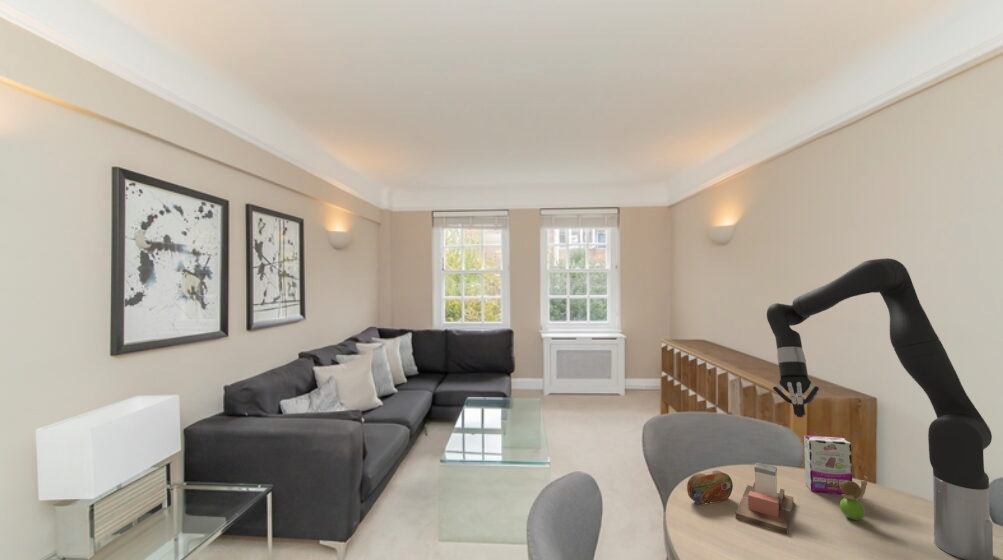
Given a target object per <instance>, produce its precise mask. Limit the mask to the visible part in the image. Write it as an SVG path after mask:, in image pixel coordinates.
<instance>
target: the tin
mask: <svg viewBox="0 0 1003 560" xmlns="http://www.w3.org/2000/svg"><path fill="white" fill-rule="evenodd" d="M733 486H734V485H733V480H732V478H731V477H730V475H729V474H727V473H725V472H723V471H721V470H711V471H706V472H701V473H696V474H693V475H692V476H691V477H690V478H689V479H688V481H687V487H686V492H687V494H688V497H689V498H690V499H691V500H692V502H695V503H696V504H697V505H700V506H703V505H702V504H705V503H710V502H715V503H718V502H719V501H720V502H724V501H726V500H727V499H728V498H730V496H731V495H732V491H733ZM710 504H711V503H710Z"/></svg>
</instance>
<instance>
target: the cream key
mask: <svg viewBox="0 0 1003 560" xmlns="http://www.w3.org/2000/svg"><path fill="white" fill-rule="evenodd" d="M777 468H778V467H777V466H773V465H771V464H770V465H769V464H765V463H760V462H756V463H755V465H754V482H755V492H756V493H760V494H763V495H767V496H771V497H775V498H777V493H778V482H777V481H778V479H777V475H778V474H777V472H778V471H777V470H778V469H777Z"/></svg>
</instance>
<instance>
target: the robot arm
mask: <svg viewBox="0 0 1003 560" xmlns="http://www.w3.org/2000/svg"><path fill="white" fill-rule="evenodd" d="M872 293H873V294H874V293H875V294H876V293H879V294H880V295H881V298H882V299H883V302H884V303H885V305H886V308H887V310H888V314H889V339H890V343H891V346H892V348H893V351H894V352H895V354H896V356H897V358H898V361H899V362H900V364H901V366H902V368H903V369H904V370H905V371H906V372H907V374H909V376H910V377H911V378H912V379H913V380H914V381H915V382H916V383H917V385H919V387H920V388H921V389H922V390H923V391H924V393H925V395H926V396H927V397H928V399H929V401H930V403H931V405H932V408H933V410H934V413H935V416H936V418H935V419H934V420H933V421H932V422H931V423H930V424H929V427H928V433H927V434H928V435H927V437H928V440H927V441H928V442H927V443H928V456H929V462H930V466H931V468H932V480H933V481H932V486H933V487H932V488H933V494H932V495H933V497H932V498H933V538H934V544H935V546H937V548H939V549H940V550H942V551H944V552H945V553H948V554H950V555H952V556H954V557H956V558H958V559H961V560H962V559H963V560H994V534H993V532H994V531H993V530H994V529H993V528H994V527H993V523H992V521H991V519H990V518H991V517H990V477H989V476H988V474H987V473H986V472H985V463H984V458H985V457H984V450H985V449H986V448H989V446H990V445H991V443H992V440H993V439H992V437H993V434H992V431H991V429H990V427H989V425H988V424H987V422H986V421H985V419H984V418H983V416H982V415H981V413H980V412H979V410H978V409H977V408H976V406H975V404H974V403H973V402H972V400H971V399H970V397H969V395H968V394H967V392H966V391H965V389H964V386H963V385H962V382H961V380H960V378H959V375H958V373H957V371H956V370H955V367H954V365H953V364H952V361H951V360H950V358H949V355H948V352H947V351H946V349H945V346H944V345H943V343H942V341H941V340H940V338H939V336H938V335H937V333H936V331H935V330H934V327H933V325H932V323H931V321H930V319H929V317H928V315H927V313H926V312H925V310H924V308H923V306H922V304H921V301H920V300H919V297H918V294H917V292H916V289H915V286H914V283H913V282H912V277H911V276H910V273H909V271H908V269H907V267H906V266H905V265H904V264H903V263H901V262H900V261H898V260H897V259H893V258H875V259H869V260H865V261H862V262H861V263H859V264H857V265H856V266H855V267H852V268H851V269H850V270H848V271H847V272H845V273H844V274H842V275H841V276H839V277H836V278H835V279H834V280H832V281H829V283H827V284H825V285H821V286H820V287H817V288H814V289H813V290H810V291H808V292H806V293H804V294H801V295H799V296H797V297H795V298H794V299H793V301H792V304H791V305H790V304H785V303H779V302H777V303H772V304H771V305H770V306H768V308H767V310H766V320H767V322H768V325H769V327H770V329H771V331H772V333H773V335H774V337H775V343H776V350H777V352H776V354H777V355H776V357H777V362H778V370H779V378H780V379H779V382H778V384H777V385H776V386H773V387H772V389H773V391H775V393H777V394H778V395H779V397H781V399H783V401H785V403H788V404H792V407H793V414H794V415H795V416H796V417H797V418H804V416H806V410H805V409H806V407H805V405H808V404H810V403H812V401H813V400H814V398H816V396H817V395H818V393H819V392H820V391H821V389H820V387H819V386H817V385H814V384H813V383H812V381H811V380H810V379H809V373H808V368H807V363H806V362H807V360H806V356H805V353H804V350H803V345H802V339H801V335H800V333H799V332H798V331H796V330H793V328H791V326H796V325H797V326H798V325H799V324H802V323H803V322H804V321H806V320H807V319H809V318H810V317H812V316H814V315H817V314H819V313H821V312H824V311H827V310H829V309H831V308H833V307H834V306H836V305H837V304H839V303H841V302H843V301H845V300H847V299H850V298H853V297H857V296H861V295H866V294H872ZM808 389H809V391H810V392H809V394H808V395H807V396H806V398H805V394H806V392H807V391H808ZM784 390H785V391H786V392H787V393H788V394H789V397H790V398H789V397H788V396H787V395H786V394H785V393H784V392H783V391H784Z"/></svg>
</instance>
